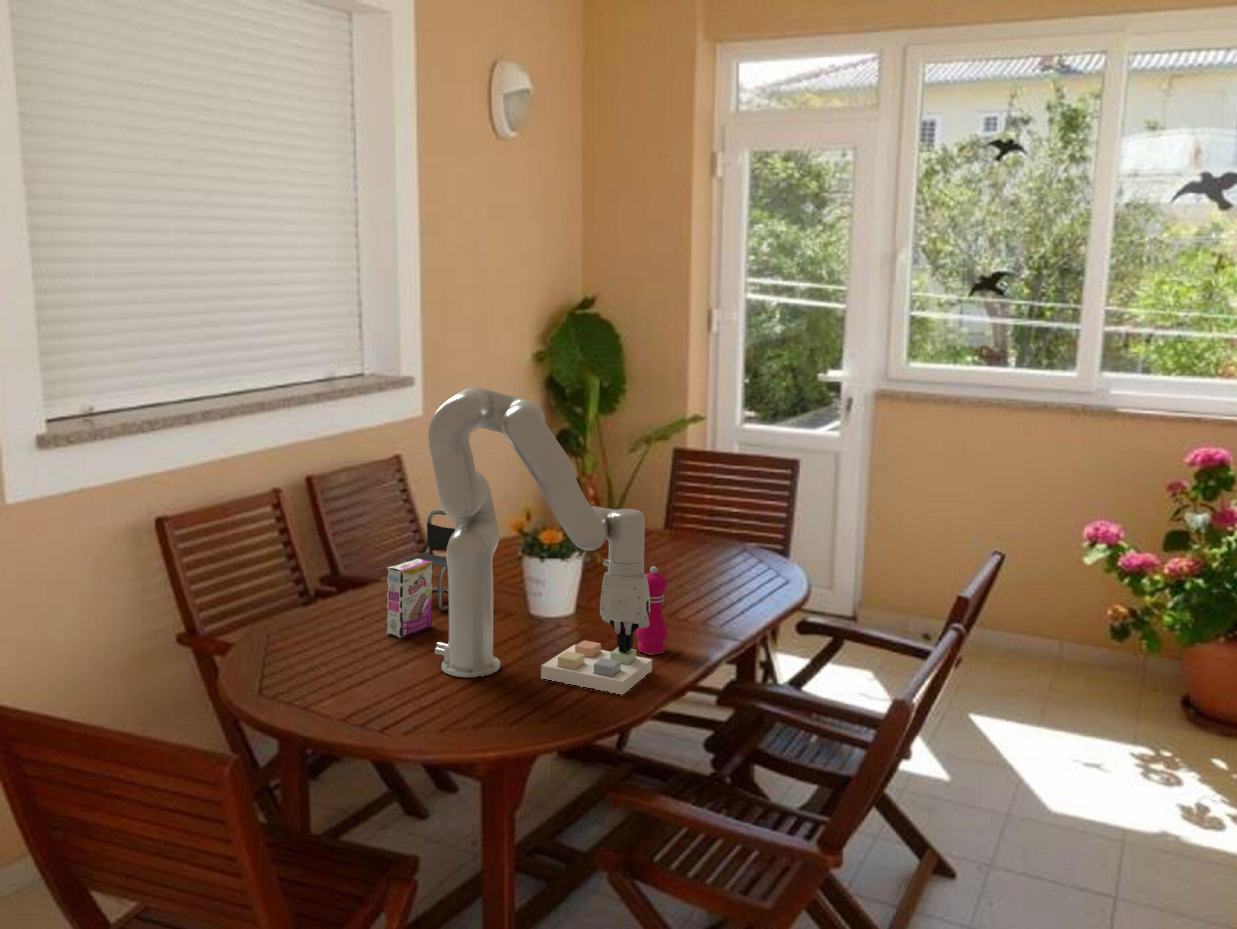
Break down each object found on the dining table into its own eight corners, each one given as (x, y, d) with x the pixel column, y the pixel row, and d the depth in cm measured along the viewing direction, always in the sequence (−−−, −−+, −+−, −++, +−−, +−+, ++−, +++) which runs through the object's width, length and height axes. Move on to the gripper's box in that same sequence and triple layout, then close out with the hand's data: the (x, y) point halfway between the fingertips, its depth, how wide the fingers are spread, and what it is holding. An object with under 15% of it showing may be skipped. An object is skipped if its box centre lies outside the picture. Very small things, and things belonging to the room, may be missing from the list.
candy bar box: (402, 639, 251) (401, 570, 249) (386, 635, 254) (385, 567, 251) (433, 626, 261) (433, 560, 258) (418, 622, 263) (417, 557, 261)
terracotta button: (575, 656, 235) (575, 645, 235) (583, 650, 239) (583, 640, 239) (592, 659, 234) (592, 649, 233) (600, 653, 237) (601, 643, 237)
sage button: (610, 663, 232) (610, 652, 231) (618, 657, 236) (618, 646, 235) (628, 666, 230) (628, 655, 230) (636, 660, 234) (636, 649, 233)
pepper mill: (640, 657, 243) (643, 571, 240) (631, 646, 250) (634, 563, 247) (671, 655, 245) (674, 569, 242) (661, 644, 252) (664, 561, 249)
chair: (477, 595, 287) (477, 514, 283) (441, 613, 271) (441, 527, 267) (435, 589, 292) (435, 509, 288) (397, 606, 276) (397, 522, 272)
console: (541, 679, 229) (541, 665, 228) (573, 657, 242) (574, 644, 242) (622, 695, 221) (622, 681, 220) (651, 672, 234) (652, 659, 234)
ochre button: (557, 667, 228) (557, 657, 228) (566, 661, 232) (567, 651, 232) (575, 671, 226) (575, 660, 226) (584, 665, 230) (584, 654, 230)
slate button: (593, 675, 225) (593, 664, 224) (602, 668, 228) (602, 657, 228) (611, 678, 223) (612, 667, 223) (620, 672, 227) (620, 661, 226)
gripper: (586, 567, 229) (586, 650, 232) (651, 576, 223) (650, 661, 226) (602, 559, 236) (601, 640, 239) (665, 567, 229) (663, 650, 233)
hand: (625, 650), depth 232 cm, fingers closed
